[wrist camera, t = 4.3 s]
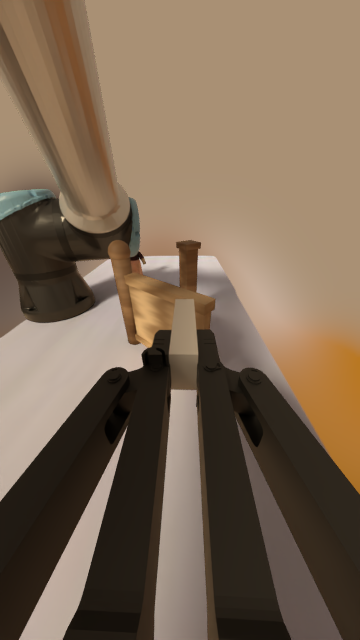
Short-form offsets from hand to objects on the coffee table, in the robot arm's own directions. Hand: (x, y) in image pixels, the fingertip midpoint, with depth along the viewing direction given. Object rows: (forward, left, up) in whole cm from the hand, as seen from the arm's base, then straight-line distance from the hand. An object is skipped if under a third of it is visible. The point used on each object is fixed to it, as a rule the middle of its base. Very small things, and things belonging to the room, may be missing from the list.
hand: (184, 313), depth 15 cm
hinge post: (-16, -1, -13) cm, 20 cm away
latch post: (-19, +12, -13) cm, 26 cm away
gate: (-8, +1, -12) cm, 14 cm away
